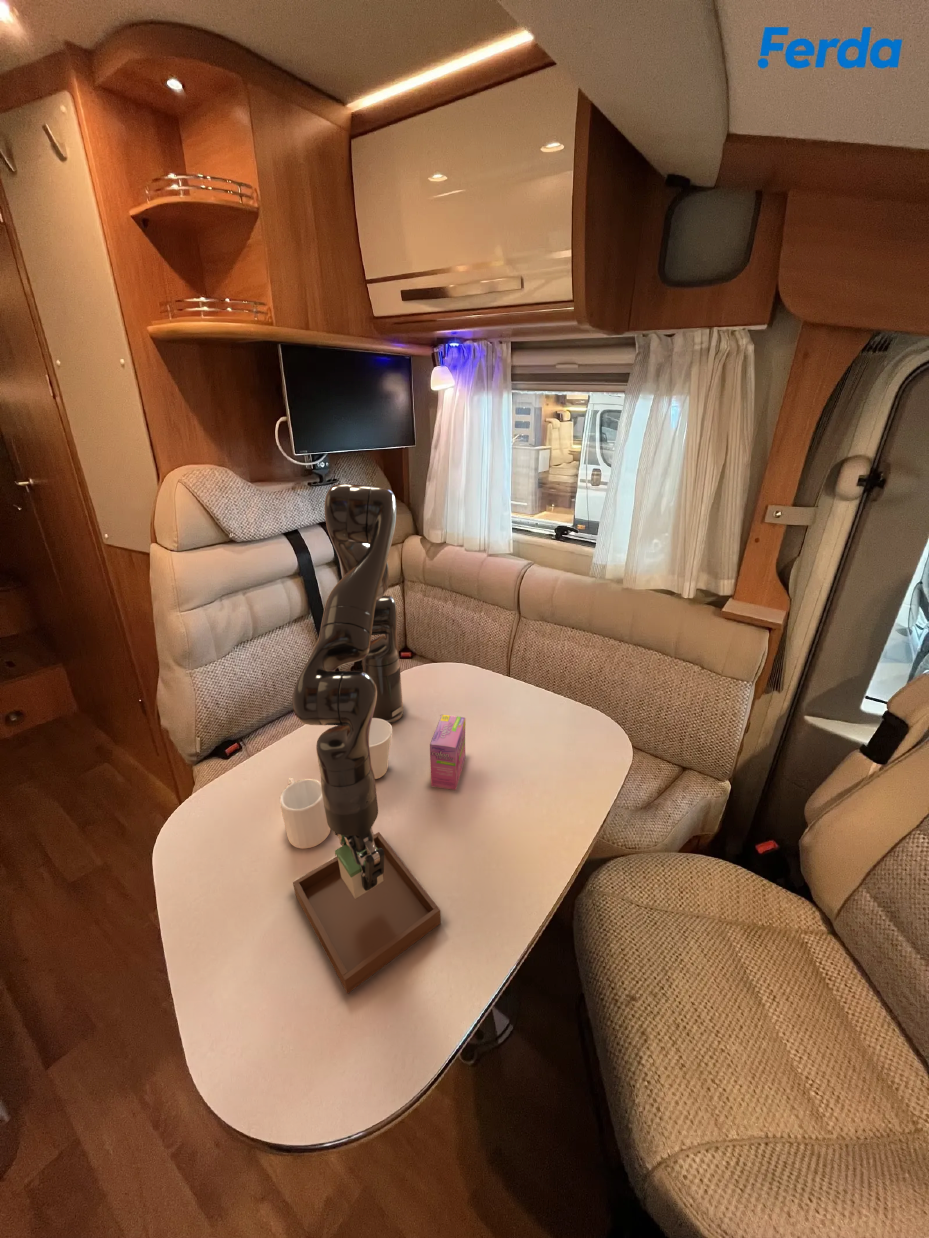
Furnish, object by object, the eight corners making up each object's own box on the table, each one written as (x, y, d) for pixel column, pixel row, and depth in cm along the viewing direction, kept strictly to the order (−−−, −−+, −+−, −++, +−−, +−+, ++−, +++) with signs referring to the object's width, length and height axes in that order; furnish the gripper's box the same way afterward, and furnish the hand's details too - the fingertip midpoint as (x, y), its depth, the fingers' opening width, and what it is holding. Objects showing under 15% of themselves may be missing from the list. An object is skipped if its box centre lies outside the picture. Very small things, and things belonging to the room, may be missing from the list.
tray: (295, 894, 85) (292, 881, 84) (380, 843, 95) (379, 831, 93) (347, 994, 71) (344, 980, 70) (441, 923, 81) (440, 909, 79)
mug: (313, 797, 105) (306, 761, 101) (337, 834, 97) (331, 796, 92) (275, 816, 101) (266, 779, 97) (297, 856, 92) (288, 817, 88)
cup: (342, 771, 112) (336, 732, 107) (377, 750, 119) (373, 712, 114) (369, 794, 106) (364, 753, 101) (405, 769, 113) (401, 730, 108)
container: (339, 876, 80) (334, 850, 78) (368, 858, 83) (365, 832, 81) (354, 901, 76) (350, 874, 74) (385, 881, 79) (382, 854, 77)
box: (456, 790, 107) (455, 747, 102) (430, 787, 108) (428, 743, 103) (466, 758, 116) (465, 716, 111) (442, 755, 117) (440, 713, 112)
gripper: (398, 810, 69) (405, 891, 76) (350, 755, 79) (361, 831, 86) (348, 838, 65) (361, 921, 72) (305, 776, 75) (320, 855, 82)
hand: (361, 872), depth 79 cm, fingers closed on container, 5 cm apart
